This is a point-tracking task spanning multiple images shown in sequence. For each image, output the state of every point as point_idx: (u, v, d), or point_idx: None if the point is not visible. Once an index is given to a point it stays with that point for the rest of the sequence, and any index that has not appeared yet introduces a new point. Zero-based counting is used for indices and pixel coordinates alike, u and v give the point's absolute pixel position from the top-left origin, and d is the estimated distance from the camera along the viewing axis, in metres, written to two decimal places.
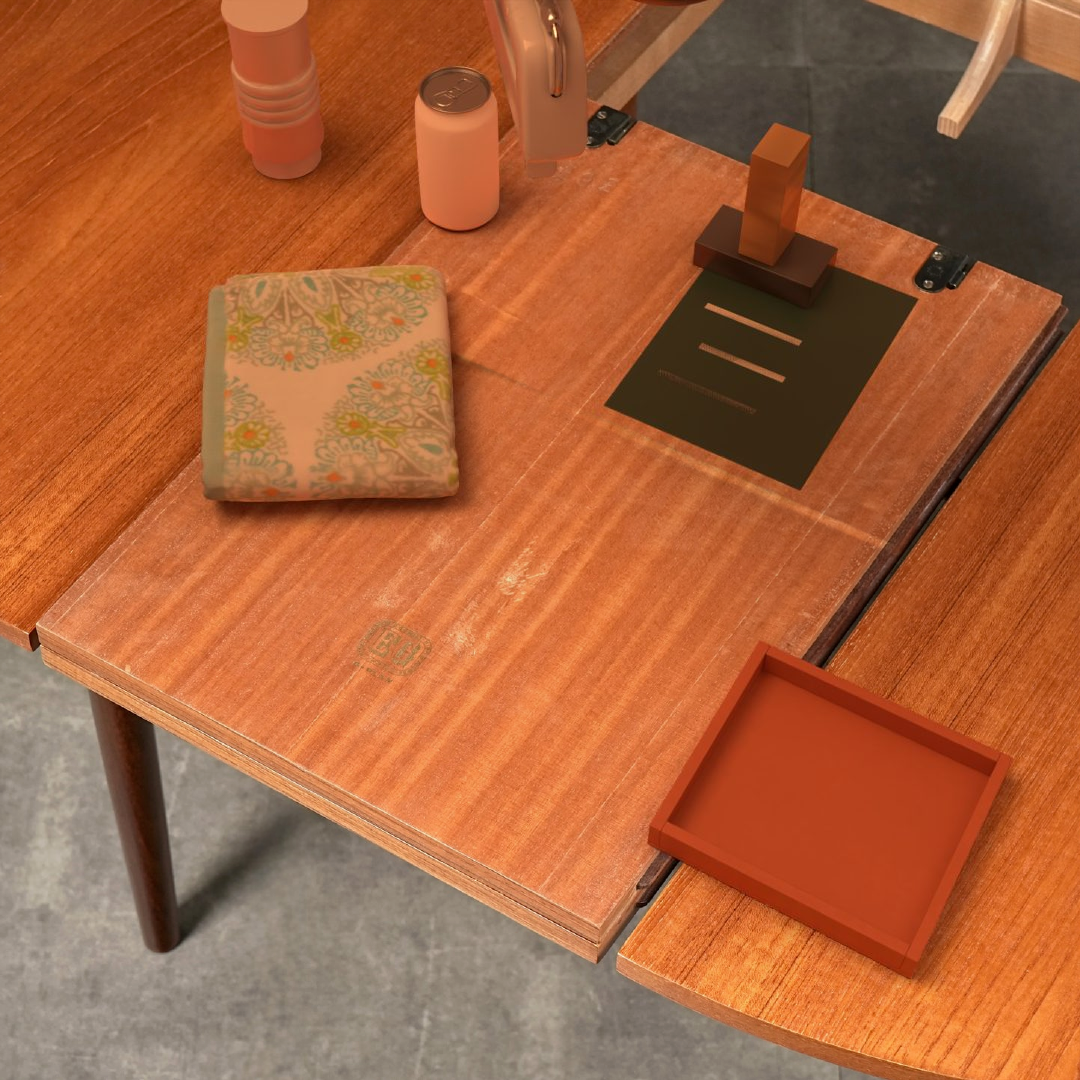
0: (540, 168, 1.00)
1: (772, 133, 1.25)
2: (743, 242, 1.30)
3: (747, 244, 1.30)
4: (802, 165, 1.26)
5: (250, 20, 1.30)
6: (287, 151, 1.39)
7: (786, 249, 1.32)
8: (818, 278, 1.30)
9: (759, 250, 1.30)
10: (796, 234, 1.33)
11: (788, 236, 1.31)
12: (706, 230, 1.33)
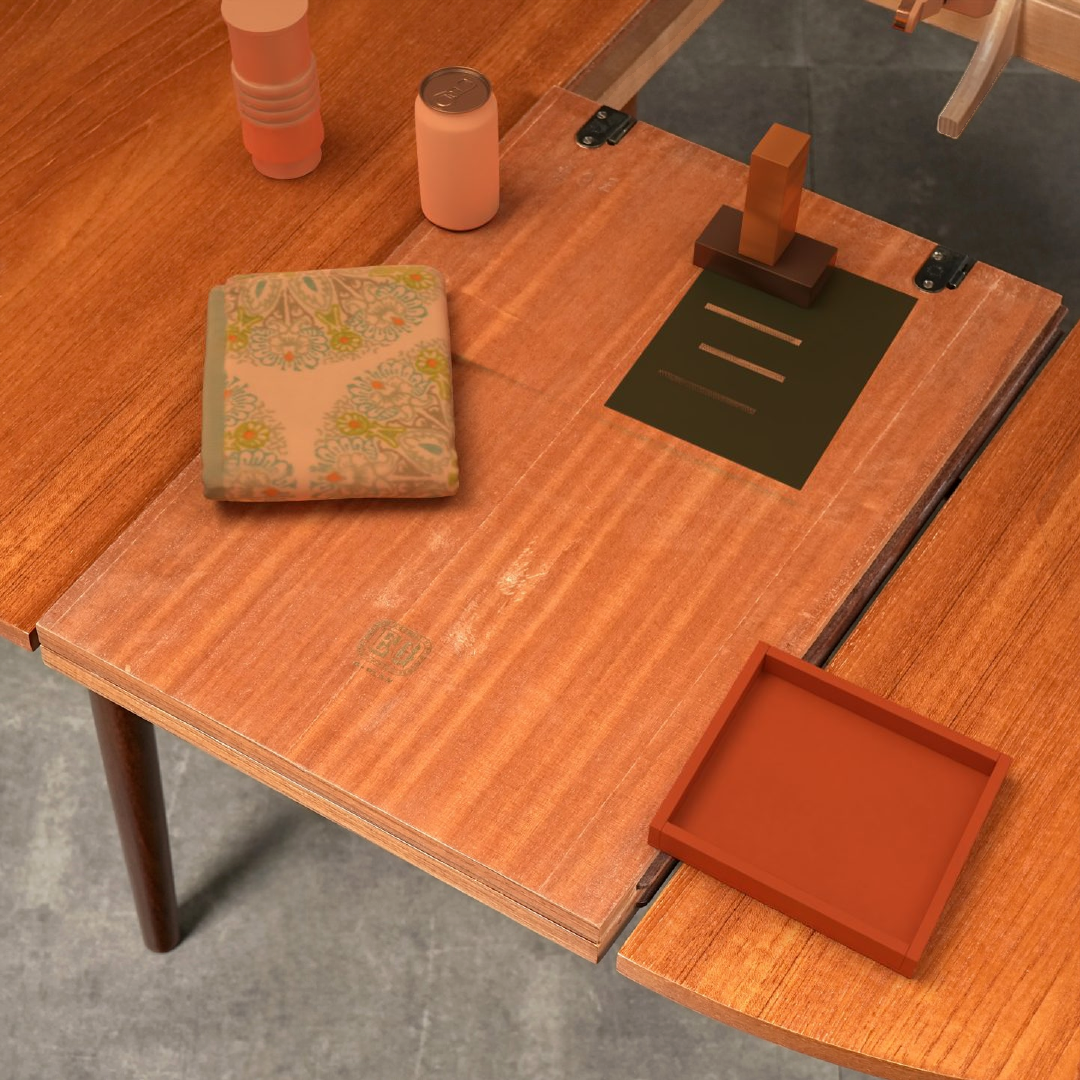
0: None
1: (772, 133, 1.25)
2: (743, 242, 1.30)
3: (747, 244, 1.30)
4: (802, 165, 1.26)
5: (250, 20, 1.30)
6: (287, 151, 1.39)
7: (786, 249, 1.32)
8: (818, 278, 1.30)
9: (759, 250, 1.30)
10: (796, 234, 1.33)
11: (788, 236, 1.31)
12: (706, 230, 1.33)
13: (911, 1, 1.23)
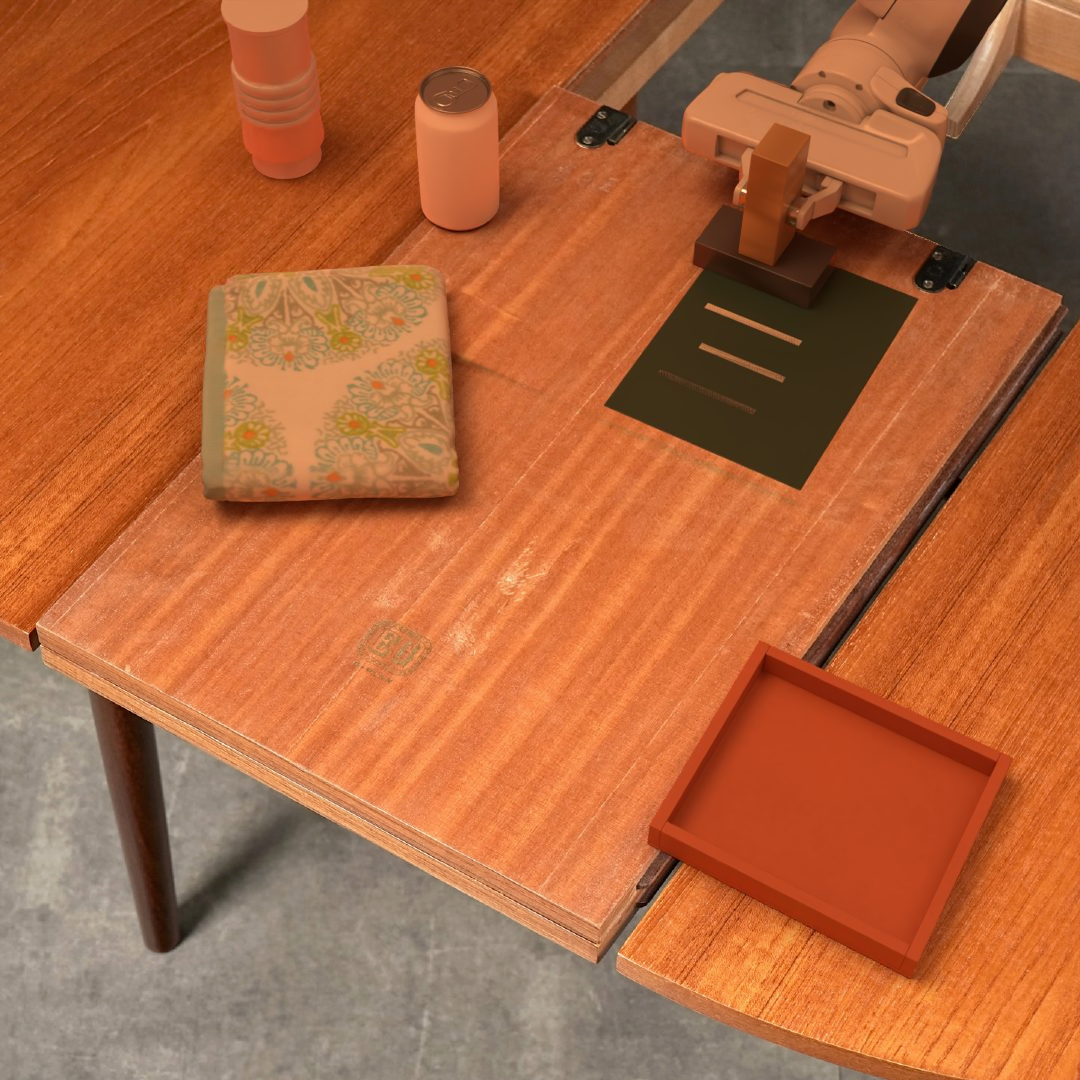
0: None
1: (772, 133, 1.25)
2: (743, 242, 1.30)
3: (747, 244, 1.30)
4: (802, 165, 1.26)
5: (250, 20, 1.30)
6: (287, 151, 1.39)
7: (786, 249, 1.32)
8: (818, 278, 1.30)
9: (759, 250, 1.30)
10: (796, 234, 1.33)
11: (788, 236, 1.31)
12: (706, 230, 1.33)
13: (803, 199, 1.28)
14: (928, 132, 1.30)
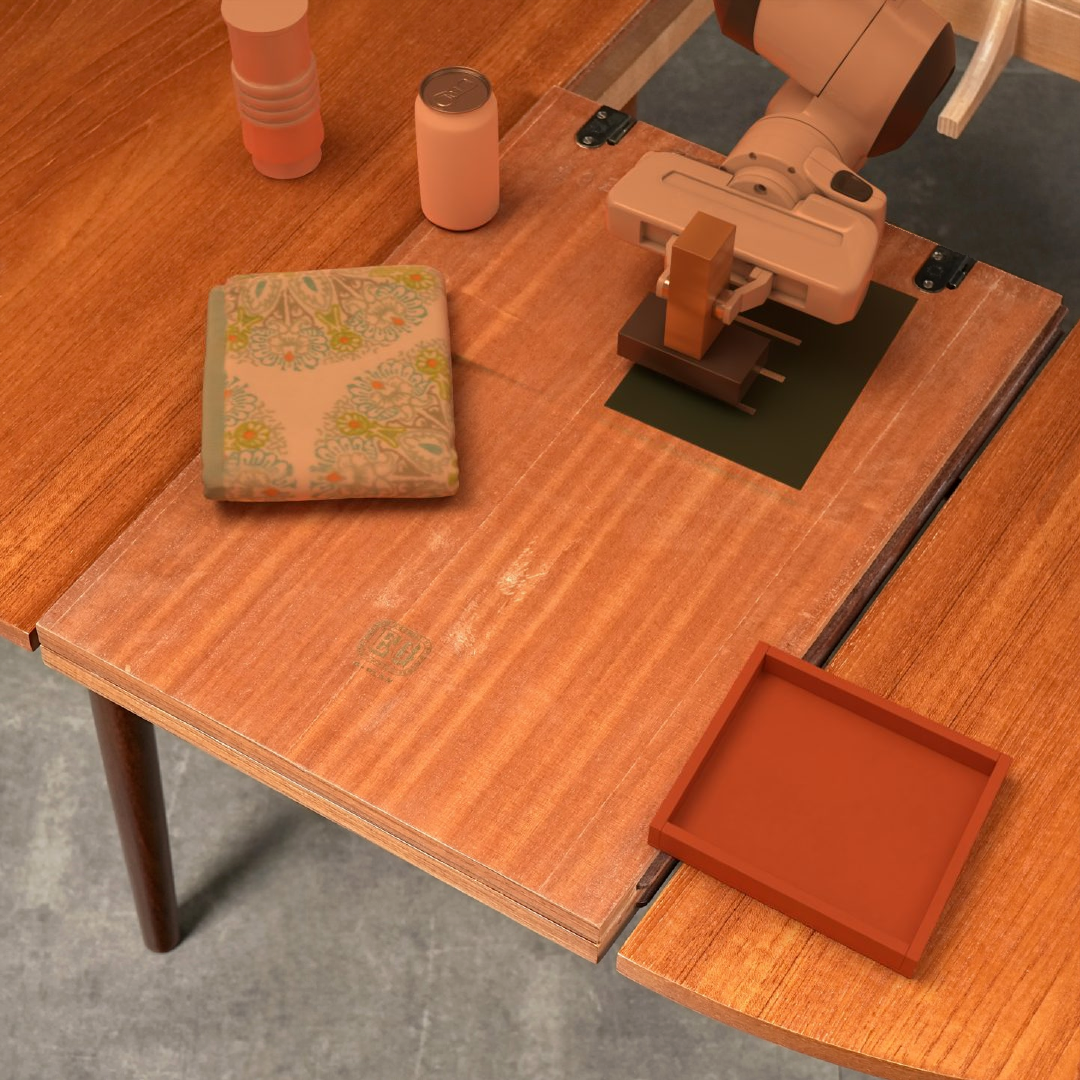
0: None
1: (695, 222, 1.17)
2: (667, 334, 1.22)
3: (672, 337, 1.22)
4: (728, 256, 1.18)
5: (250, 20, 1.30)
6: (287, 151, 1.39)
7: (715, 341, 1.24)
8: (748, 373, 1.22)
9: (685, 344, 1.22)
10: (726, 324, 1.25)
11: (716, 327, 1.23)
12: (630, 320, 1.25)
13: (730, 292, 1.20)
14: (864, 219, 1.22)
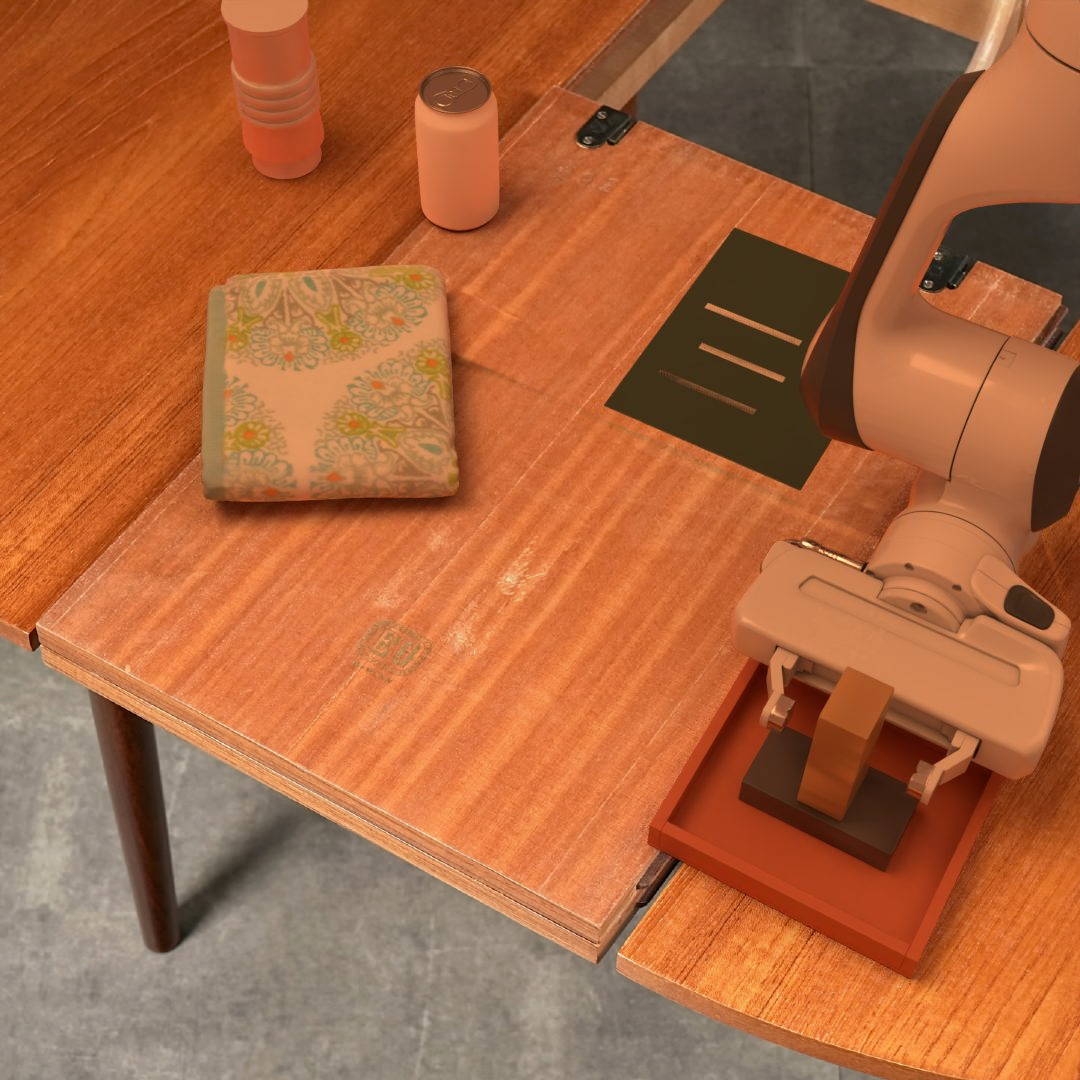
0: None
1: (844, 684, 0.97)
2: (803, 791, 1.03)
3: (809, 795, 1.03)
4: (882, 719, 0.98)
5: (250, 20, 1.30)
6: (287, 151, 1.39)
7: (857, 793, 1.04)
8: (899, 839, 1.03)
9: (824, 804, 1.03)
10: (869, 769, 1.05)
11: (860, 781, 1.03)
12: (756, 763, 1.06)
13: (929, 767, 0.99)
14: (1046, 651, 1.02)
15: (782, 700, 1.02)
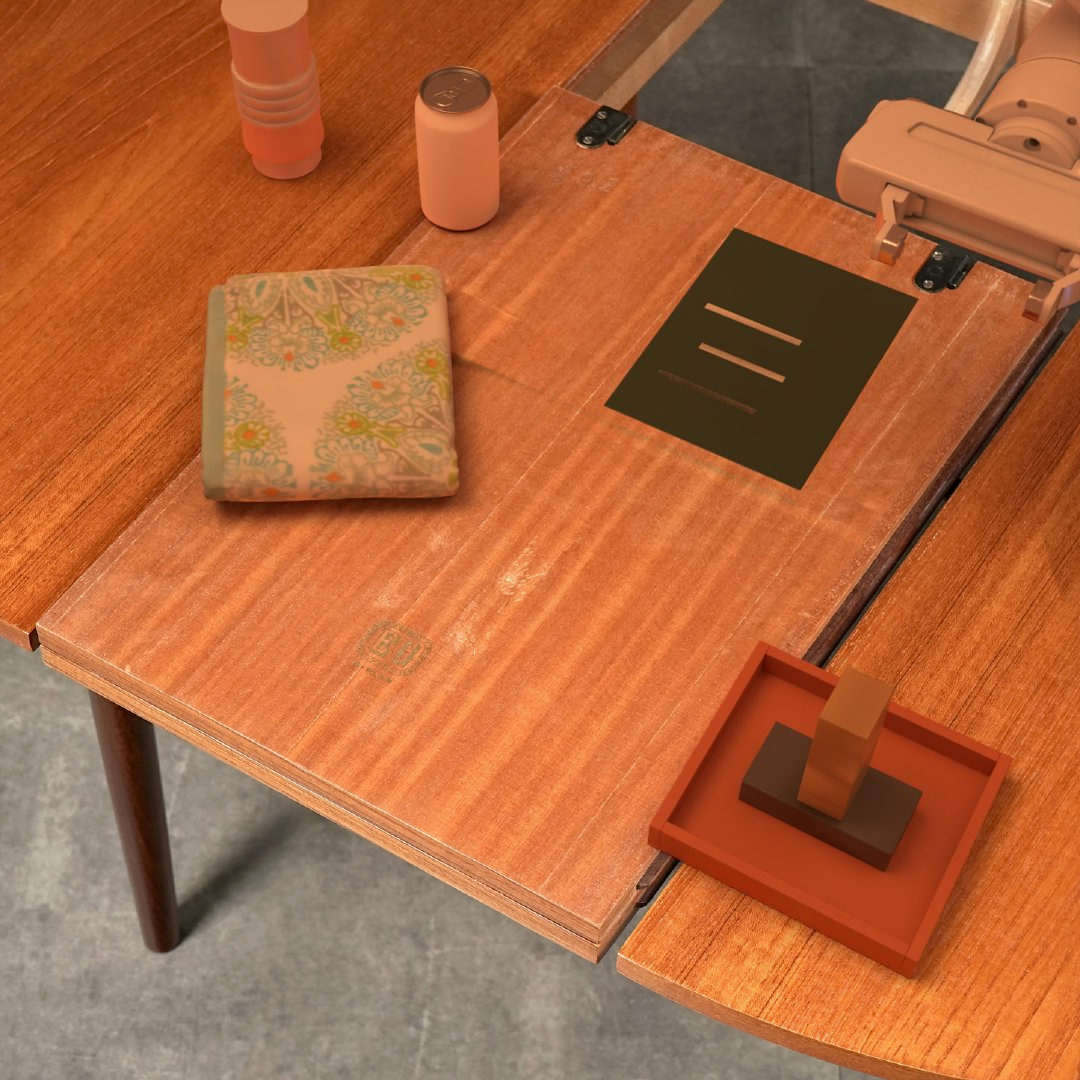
0: None
1: (844, 684, 0.97)
2: (803, 791, 1.03)
3: (809, 795, 1.03)
4: (882, 719, 0.98)
5: (250, 20, 1.30)
6: (287, 151, 1.39)
7: (857, 793, 1.04)
8: (899, 839, 1.03)
9: (824, 804, 1.03)
10: (869, 769, 1.05)
11: (860, 781, 1.03)
12: (756, 763, 1.06)
13: (1048, 285, 0.97)
14: None
15: (894, 229, 1.00)
